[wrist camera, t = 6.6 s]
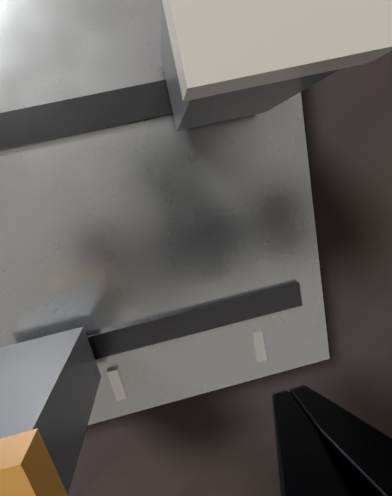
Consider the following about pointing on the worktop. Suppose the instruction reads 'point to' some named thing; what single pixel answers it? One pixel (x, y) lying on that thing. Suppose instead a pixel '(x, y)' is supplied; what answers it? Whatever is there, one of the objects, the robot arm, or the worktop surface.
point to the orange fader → (44, 411)
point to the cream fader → (261, 51)
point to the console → (147, 213)
